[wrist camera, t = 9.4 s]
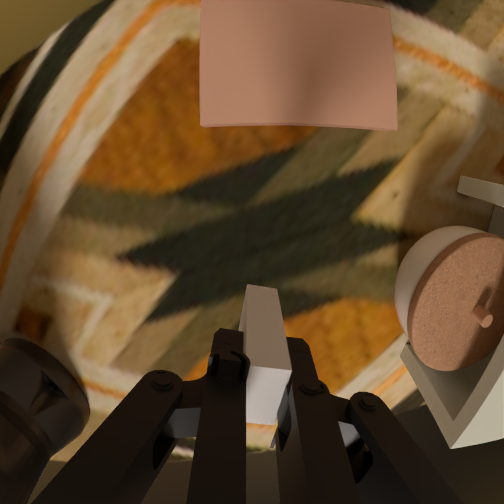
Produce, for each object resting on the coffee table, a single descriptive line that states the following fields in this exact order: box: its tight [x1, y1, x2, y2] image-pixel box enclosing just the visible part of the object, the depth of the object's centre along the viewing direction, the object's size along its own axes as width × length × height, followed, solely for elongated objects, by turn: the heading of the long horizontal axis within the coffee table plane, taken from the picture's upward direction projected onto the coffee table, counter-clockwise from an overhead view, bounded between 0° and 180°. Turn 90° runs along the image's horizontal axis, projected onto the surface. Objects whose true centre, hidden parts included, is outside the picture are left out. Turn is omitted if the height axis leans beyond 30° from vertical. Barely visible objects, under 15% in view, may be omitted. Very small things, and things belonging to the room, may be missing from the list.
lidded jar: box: [394, 226, 504, 371], centre depth 21 cm, size 11×11×9 cm
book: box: [200, 0, 398, 131], centre depth 20 cm, size 14×10×2 cm
